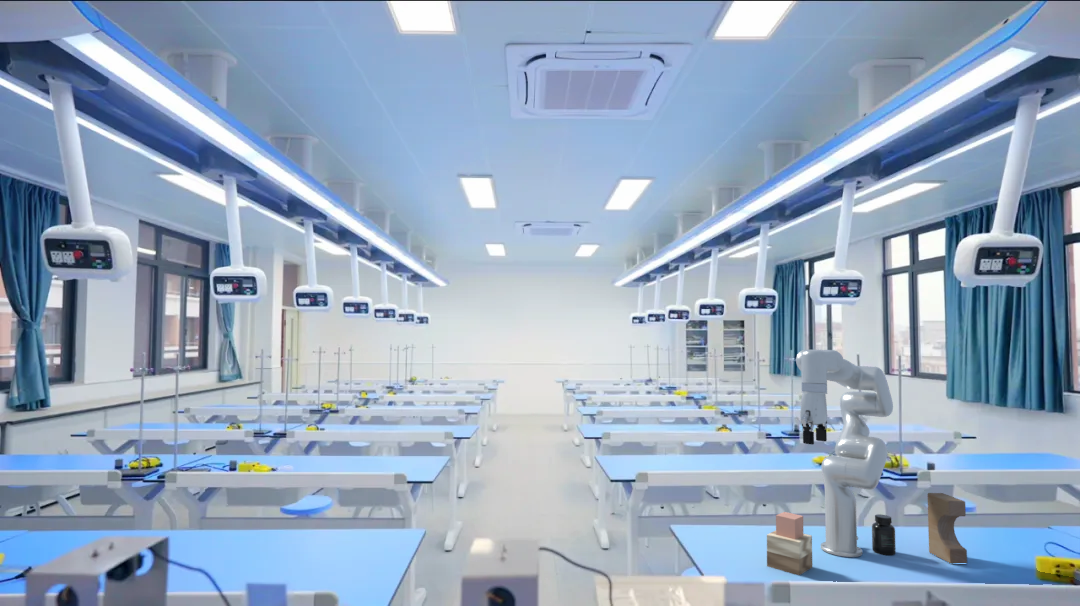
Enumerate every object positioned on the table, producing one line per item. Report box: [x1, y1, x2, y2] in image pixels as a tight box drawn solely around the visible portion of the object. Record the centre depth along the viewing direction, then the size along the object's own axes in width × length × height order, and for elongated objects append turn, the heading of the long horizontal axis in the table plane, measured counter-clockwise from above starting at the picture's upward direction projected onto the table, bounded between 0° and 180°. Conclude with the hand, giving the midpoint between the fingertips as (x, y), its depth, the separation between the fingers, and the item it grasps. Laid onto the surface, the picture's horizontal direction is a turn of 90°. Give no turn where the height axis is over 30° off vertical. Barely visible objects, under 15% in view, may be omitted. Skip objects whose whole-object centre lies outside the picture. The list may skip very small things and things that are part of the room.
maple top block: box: [766, 530, 813, 559], centre depth 187 cm, size 10×10×5 cm
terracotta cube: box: [775, 511, 804, 539], centre depth 188 cm, size 6×6×6 cm
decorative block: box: [927, 492, 968, 564], centre depth 198 cm, size 11×6×20 cm, turn 0°
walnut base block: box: [766, 550, 813, 576], centre depth 187 cm, size 10×10×5 cm
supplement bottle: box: [871, 513, 897, 557], centre depth 202 cm, size 7×7×12 cm
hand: (815, 442), depth 191 cm, fingers open, 9 cm apart
